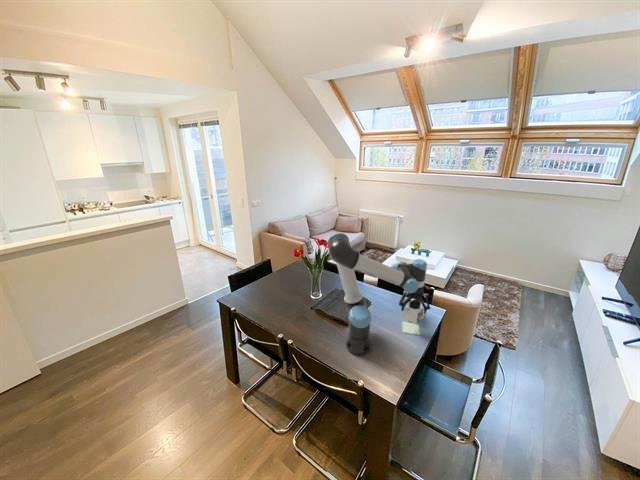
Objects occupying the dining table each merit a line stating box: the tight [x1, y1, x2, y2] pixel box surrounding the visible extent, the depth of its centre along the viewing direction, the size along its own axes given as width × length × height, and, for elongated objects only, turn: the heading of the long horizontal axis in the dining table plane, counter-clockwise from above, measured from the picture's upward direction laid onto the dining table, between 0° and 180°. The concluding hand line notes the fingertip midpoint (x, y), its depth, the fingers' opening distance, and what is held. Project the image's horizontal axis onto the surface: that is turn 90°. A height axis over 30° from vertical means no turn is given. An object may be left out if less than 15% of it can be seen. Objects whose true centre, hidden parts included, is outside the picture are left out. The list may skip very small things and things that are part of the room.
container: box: [403, 299, 423, 324], centre depth 160 cm, size 8×8×13 cm
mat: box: [401, 321, 421, 336], centre depth 165 cm, size 10×10×1 cm
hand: (412, 316), depth 162 cm, fingers closed on container, 10 cm apart
